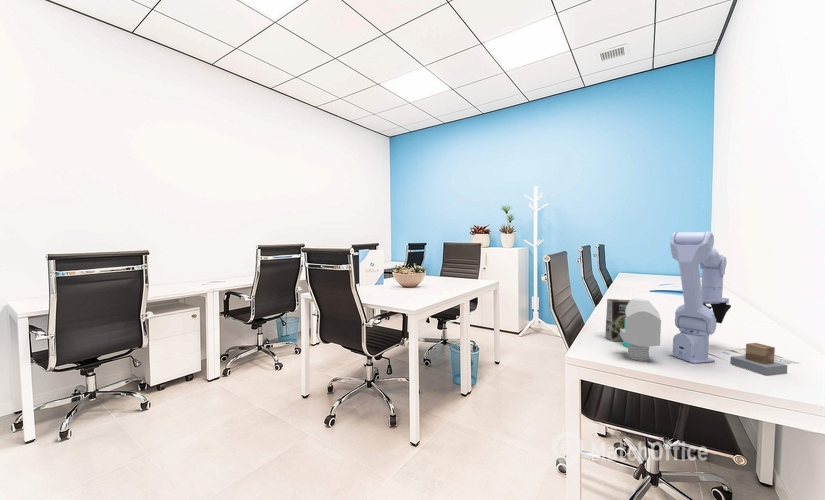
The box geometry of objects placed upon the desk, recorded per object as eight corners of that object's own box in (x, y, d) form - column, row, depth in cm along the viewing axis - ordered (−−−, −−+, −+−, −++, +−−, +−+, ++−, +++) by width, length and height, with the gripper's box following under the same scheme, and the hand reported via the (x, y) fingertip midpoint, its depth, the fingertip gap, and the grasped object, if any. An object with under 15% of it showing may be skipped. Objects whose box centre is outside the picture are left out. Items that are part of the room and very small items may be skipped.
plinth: (766, 375, 96) (766, 367, 96) (730, 364, 105) (730, 356, 105) (787, 373, 98) (787, 365, 98) (750, 362, 107) (750, 354, 107)
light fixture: (650, 355, 112) (652, 298, 111) (659, 365, 103) (661, 303, 102) (619, 351, 115) (621, 296, 115) (625, 360, 107) (627, 301, 106)
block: (763, 364, 98) (764, 348, 98) (745, 359, 103) (746, 343, 103) (774, 363, 99) (774, 347, 99) (755, 358, 104) (756, 342, 104)
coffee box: (611, 341, 127) (613, 301, 126) (604, 336, 133) (606, 298, 133) (637, 343, 125) (638, 302, 125) (628, 338, 132) (630, 299, 131)
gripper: (709, 288, 113) (707, 326, 113) (739, 288, 116) (737, 325, 117) (688, 286, 120) (686, 321, 120) (717, 285, 123) (715, 320, 123)
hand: (710, 323), depth 119 cm, fingers open, 7 cm apart
